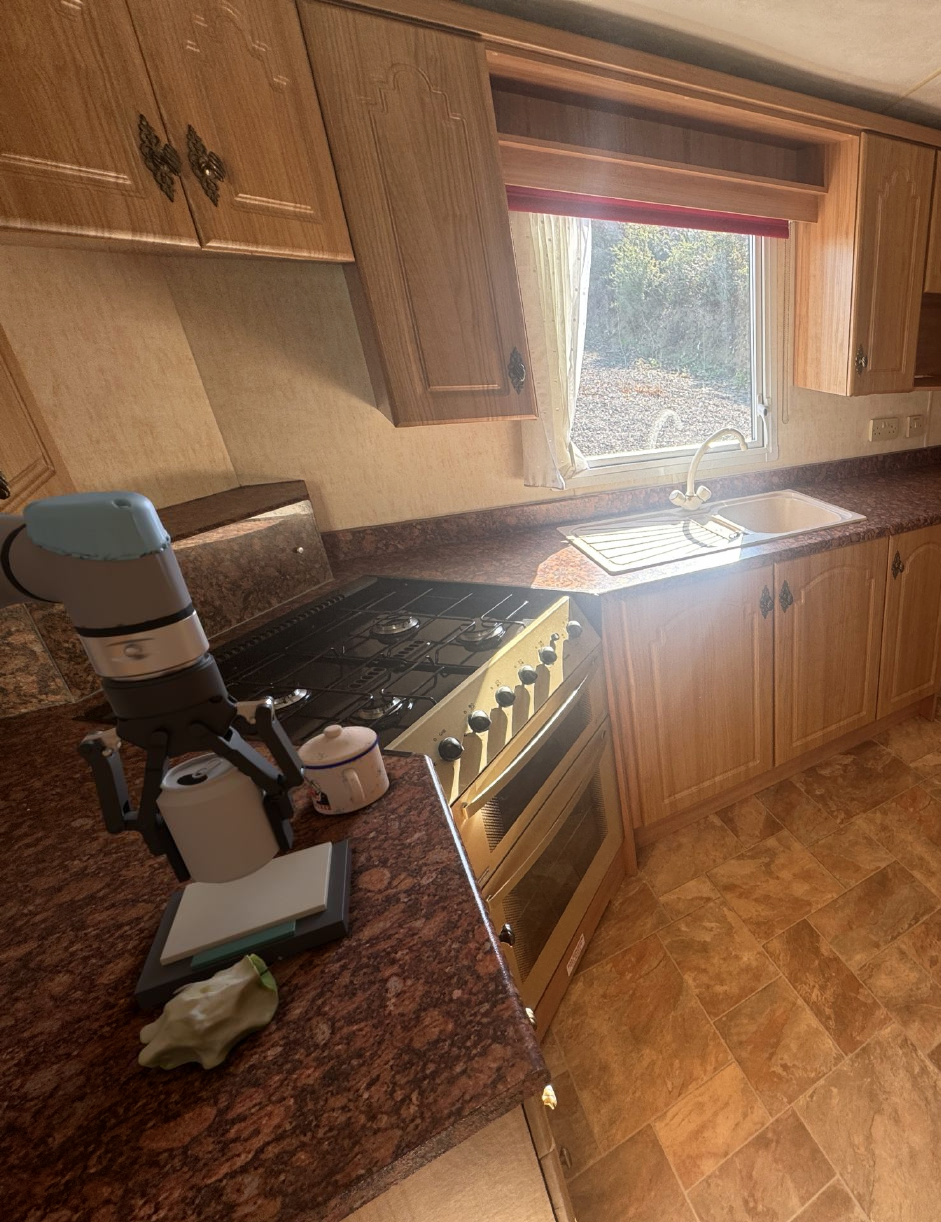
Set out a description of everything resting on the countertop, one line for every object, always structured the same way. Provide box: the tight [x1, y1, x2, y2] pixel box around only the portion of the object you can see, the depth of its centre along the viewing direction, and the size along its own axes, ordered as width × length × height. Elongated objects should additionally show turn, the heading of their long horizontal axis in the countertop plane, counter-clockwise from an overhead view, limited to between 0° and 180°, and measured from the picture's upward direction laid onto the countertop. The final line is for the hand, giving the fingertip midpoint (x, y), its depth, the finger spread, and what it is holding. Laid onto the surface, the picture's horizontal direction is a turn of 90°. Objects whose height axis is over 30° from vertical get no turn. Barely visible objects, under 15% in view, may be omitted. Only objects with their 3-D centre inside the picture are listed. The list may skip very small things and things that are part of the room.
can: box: [156, 752, 281, 884], centre depth 65 cm, size 8×8×12 cm
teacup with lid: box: [297, 724, 390, 815], centre depth 86 cm, size 12×9×12 cm
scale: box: [133, 839, 353, 1010], centre depth 69 cm, size 16×14×4 cm
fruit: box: [137, 954, 283, 1071], centre depth 58 cm, size 9×9×8 cm
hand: (239, 857), depth 67 cm, fingers closed on can, 7 cm apart
